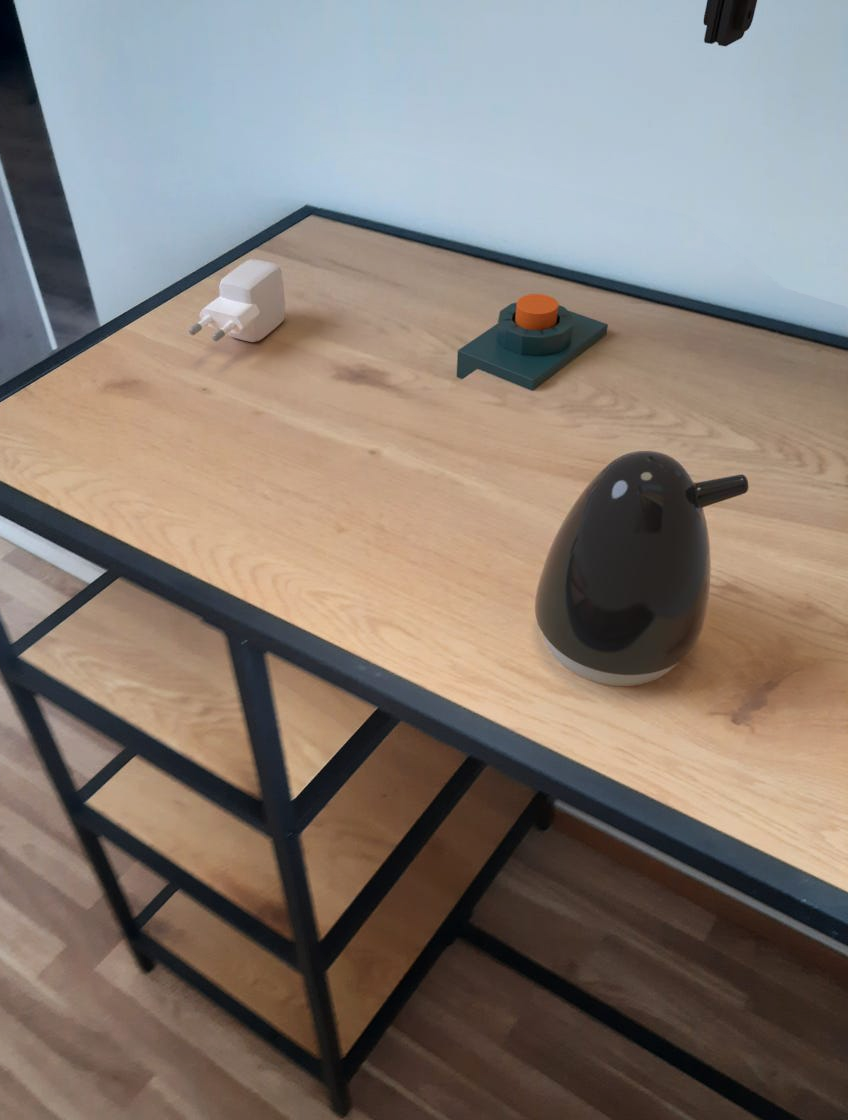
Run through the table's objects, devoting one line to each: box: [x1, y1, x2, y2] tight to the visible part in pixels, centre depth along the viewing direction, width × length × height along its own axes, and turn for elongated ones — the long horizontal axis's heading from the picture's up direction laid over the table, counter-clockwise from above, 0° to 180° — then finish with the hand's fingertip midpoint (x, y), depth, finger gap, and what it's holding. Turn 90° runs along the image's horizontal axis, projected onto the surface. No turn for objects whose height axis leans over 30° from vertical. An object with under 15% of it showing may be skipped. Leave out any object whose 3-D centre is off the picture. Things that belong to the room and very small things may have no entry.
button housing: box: [456, 302, 609, 392], centre depth 84 cm, size 12×8×4 cm, turn 139°
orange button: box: [515, 293, 560, 331], centre depth 82 cm, size 4×4×2 cm
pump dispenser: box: [534, 450, 750, 687], centre depth 55 cm, size 10×10×15 cm
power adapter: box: [188, 258, 287, 343], centre depth 88 cm, size 11×5×6 cm, turn 151°
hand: (723, 39), depth 68 cm, fingers closed
